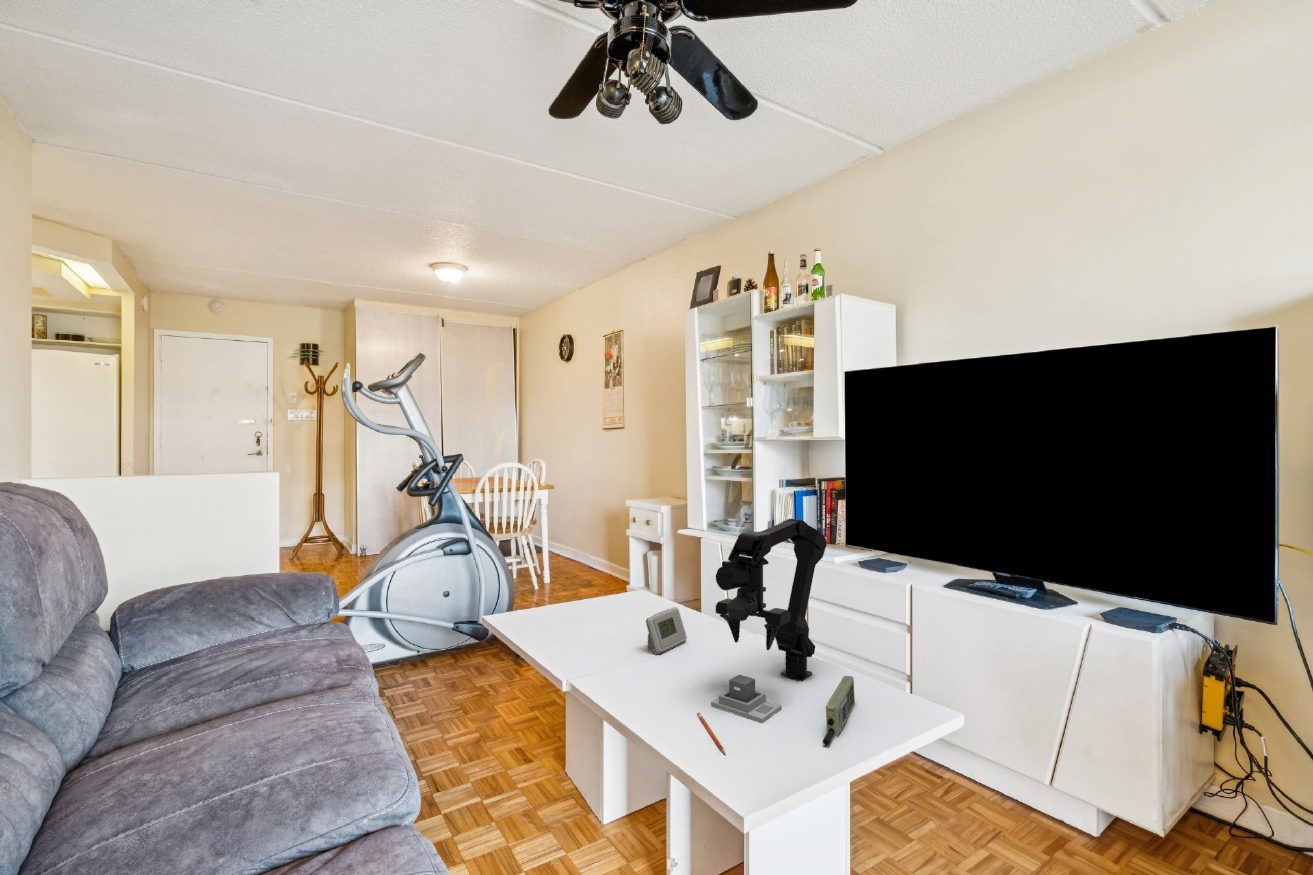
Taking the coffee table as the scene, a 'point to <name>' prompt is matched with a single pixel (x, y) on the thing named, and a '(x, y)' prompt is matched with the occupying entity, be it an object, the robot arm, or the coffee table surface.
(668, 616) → the digital clock
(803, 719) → the coffee table surface
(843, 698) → the handheld radio
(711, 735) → the pencil
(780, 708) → the grey charging dock
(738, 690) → the block
